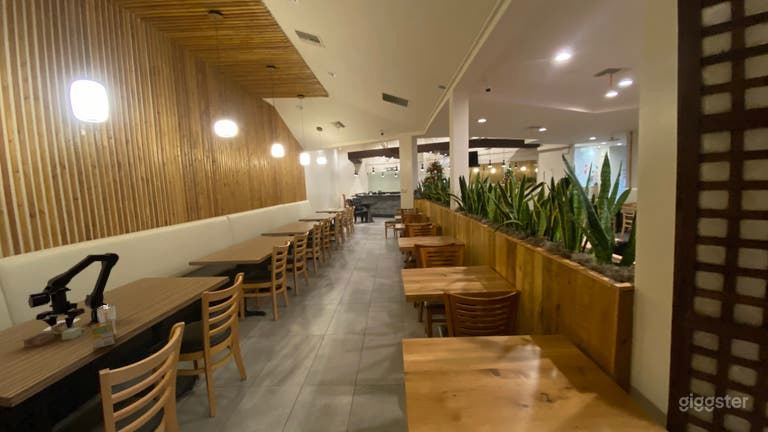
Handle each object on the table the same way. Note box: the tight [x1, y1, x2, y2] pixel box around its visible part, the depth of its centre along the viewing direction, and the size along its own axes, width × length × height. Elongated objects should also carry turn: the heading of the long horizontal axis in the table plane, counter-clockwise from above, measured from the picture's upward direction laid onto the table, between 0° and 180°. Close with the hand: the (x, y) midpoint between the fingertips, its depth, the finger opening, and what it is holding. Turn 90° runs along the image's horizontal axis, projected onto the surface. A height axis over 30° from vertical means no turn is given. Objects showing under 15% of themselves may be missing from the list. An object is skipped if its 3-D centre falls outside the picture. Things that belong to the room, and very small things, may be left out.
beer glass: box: [97, 304, 118, 336], centre depth 156 cm, size 7×7×15 cm
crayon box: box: [91, 321, 116, 350], centre depth 145 cm, size 7×3×12 cm, turn 129°
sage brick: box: [61, 326, 83, 341], centre depth 155 cm, size 5×5×4 cm
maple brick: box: [50, 322, 75, 335], centre depth 163 cm, size 6×6×4 cm
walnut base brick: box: [23, 331, 56, 348], centre depth 150 cm, size 7×7×4 cm
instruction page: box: [41, 317, 82, 333], centre depth 171 cm, size 10×14×1 cm
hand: (62, 329), depth 163 cm, fingers closed on maple brick, 6 cm apart
